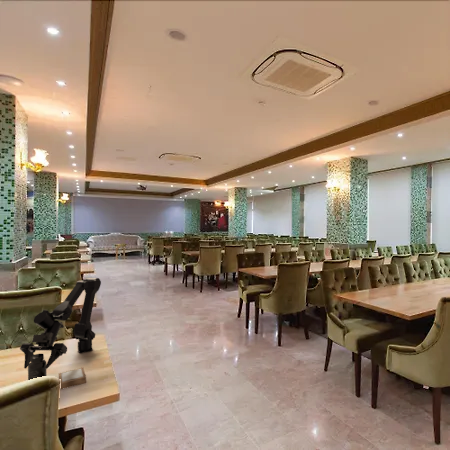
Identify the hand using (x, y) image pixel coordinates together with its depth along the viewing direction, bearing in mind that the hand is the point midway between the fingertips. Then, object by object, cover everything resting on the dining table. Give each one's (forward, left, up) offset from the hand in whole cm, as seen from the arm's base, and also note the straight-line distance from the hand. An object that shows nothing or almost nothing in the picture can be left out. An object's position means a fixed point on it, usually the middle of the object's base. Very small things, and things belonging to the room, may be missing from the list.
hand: (35, 368), depth 127 cm
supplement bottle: (-1, -1, -7) cm, 7 cm away
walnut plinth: (-14, +5, -7) cm, 16 cm away
